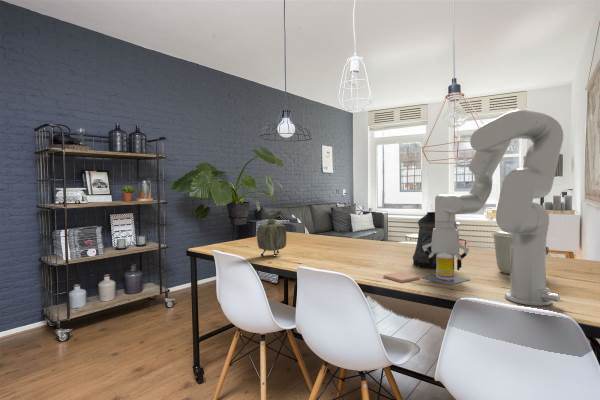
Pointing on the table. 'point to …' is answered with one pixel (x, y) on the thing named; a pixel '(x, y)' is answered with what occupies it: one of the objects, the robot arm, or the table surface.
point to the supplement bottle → (445, 266)
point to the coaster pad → (401, 277)
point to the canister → (503, 250)
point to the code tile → (447, 282)
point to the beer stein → (425, 241)
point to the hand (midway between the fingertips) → (445, 268)
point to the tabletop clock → (271, 235)
